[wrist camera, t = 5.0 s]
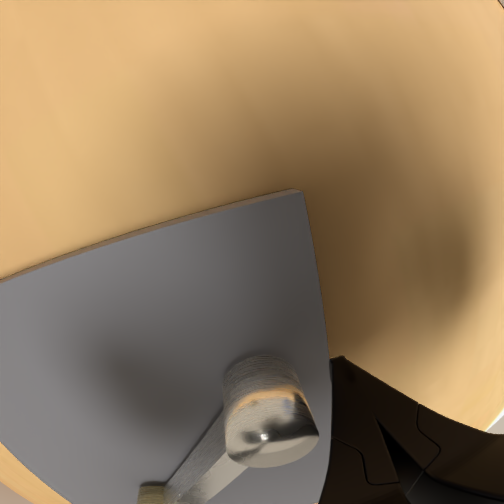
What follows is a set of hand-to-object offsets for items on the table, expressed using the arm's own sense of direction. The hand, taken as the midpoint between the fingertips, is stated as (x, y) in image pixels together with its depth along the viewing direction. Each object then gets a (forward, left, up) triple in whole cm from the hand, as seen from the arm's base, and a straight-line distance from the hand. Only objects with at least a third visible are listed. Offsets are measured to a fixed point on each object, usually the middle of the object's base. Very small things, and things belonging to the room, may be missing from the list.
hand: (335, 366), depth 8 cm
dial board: (-6, +12, -2) cm, 13 cm away
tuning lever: (-5, +7, -1) cm, 8 cm away
